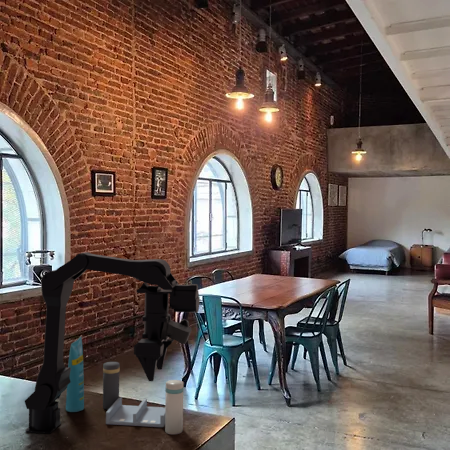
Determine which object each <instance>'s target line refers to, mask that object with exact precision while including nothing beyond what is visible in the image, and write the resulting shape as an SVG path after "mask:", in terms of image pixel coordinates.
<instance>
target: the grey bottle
mask: <svg viewBox="0 0 450 450" xmlns="http://www.w3.org/2000/svg"><path fill="white" fill-rule="evenodd" d="M120 367H121V366H120V362H118V361H107V362H104V363H103V367H102V372H103V373H102V409H103V410H107V411H108V409H109V408H110V407H111V406H112V405H113V404H114V403H115V401H116V400H117V399H118V398H119V397H120V371H121V370H120Z"/></svg>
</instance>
